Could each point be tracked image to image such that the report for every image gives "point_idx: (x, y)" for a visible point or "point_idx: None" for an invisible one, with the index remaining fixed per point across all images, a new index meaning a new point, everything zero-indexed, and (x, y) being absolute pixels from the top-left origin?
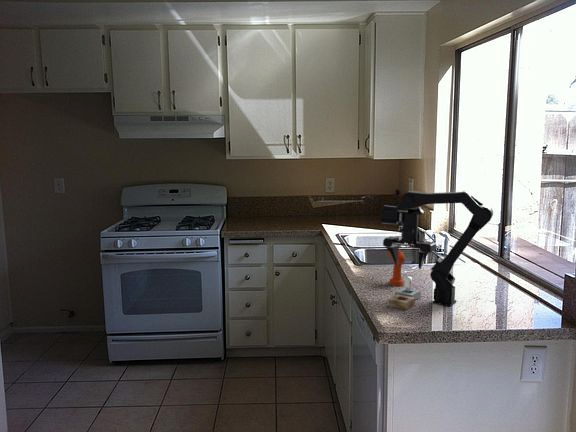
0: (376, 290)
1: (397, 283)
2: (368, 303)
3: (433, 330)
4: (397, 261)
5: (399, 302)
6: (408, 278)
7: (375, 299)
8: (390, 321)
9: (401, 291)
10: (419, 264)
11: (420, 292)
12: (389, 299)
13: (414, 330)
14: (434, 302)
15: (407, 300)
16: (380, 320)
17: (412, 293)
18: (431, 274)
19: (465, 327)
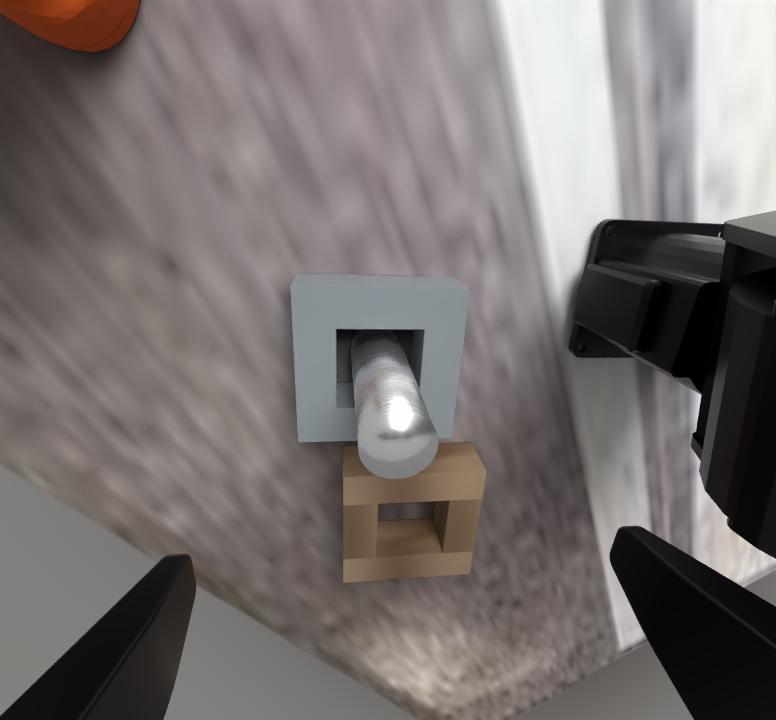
0: (55, 321)
1: (84, 36)
2: (225, 575)
3: (626, 645)
4: (167, 648)
5: (420, 570)
6: (413, 470)
7: (210, 501)
8: (447, 672)
9: (336, 401)
10: (684, 674)
11: (464, 285)
12: (351, 581)
13: (560, 679)
14: (583, 355)
15: (458, 539)
16: (406, 685)
17: (435, 398)
18: (753, 537)
19: (748, 560)
